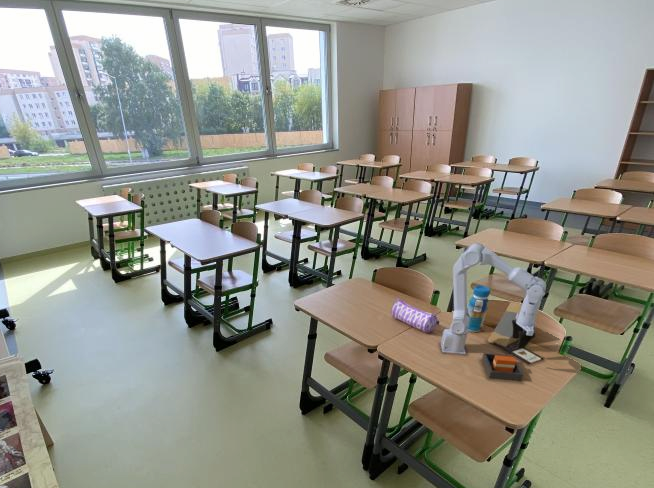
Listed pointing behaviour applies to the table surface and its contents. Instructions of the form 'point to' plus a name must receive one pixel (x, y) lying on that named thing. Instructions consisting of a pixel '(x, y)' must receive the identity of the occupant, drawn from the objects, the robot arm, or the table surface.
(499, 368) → the snack box
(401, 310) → the pencil case
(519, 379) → the tray
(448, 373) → the table surface
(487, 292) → the beverage bottle
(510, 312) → the sandwich container
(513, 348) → the chocolate bar
